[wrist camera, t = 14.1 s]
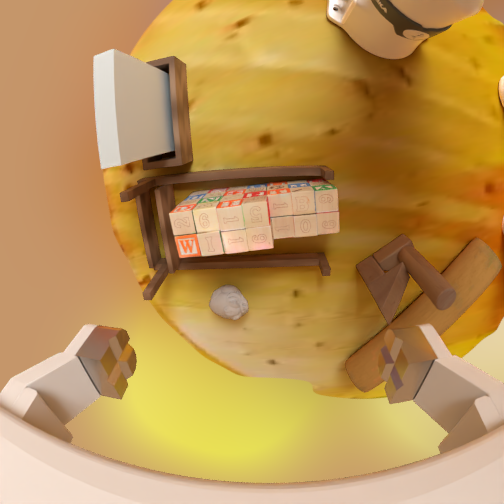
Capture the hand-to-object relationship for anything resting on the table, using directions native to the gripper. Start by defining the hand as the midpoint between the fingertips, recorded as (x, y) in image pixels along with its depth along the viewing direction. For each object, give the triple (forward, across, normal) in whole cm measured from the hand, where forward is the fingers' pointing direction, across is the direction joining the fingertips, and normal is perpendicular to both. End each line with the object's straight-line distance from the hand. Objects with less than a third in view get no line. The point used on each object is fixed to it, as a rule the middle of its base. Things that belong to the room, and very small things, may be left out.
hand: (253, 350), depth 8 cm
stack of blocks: (+38, +1, +5) cm, 39 cm away
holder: (+38, +14, -10) cm, 42 cm away
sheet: (+38, +14, -10) cm, 42 cm away
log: (+38, -32, +27) cm, 57 cm away
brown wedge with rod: (+38, -21, +15) cm, 46 cm away
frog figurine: (+38, +7, +22) cm, 44 cm away
